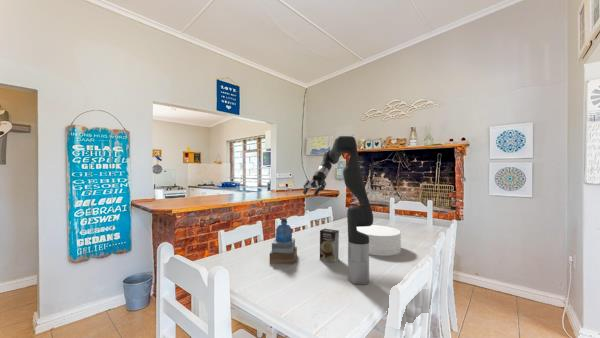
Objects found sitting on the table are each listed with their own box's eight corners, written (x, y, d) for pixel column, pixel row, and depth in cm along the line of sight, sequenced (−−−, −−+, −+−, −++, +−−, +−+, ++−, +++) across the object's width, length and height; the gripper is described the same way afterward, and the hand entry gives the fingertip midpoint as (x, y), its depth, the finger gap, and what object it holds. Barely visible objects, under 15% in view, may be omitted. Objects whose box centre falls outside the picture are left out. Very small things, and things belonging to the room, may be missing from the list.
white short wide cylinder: (368, 239, 179) (368, 223, 179) (408, 248, 159) (408, 230, 159) (345, 248, 159) (345, 229, 159) (387, 259, 139) (387, 238, 139)
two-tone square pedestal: (293, 263, 132) (293, 244, 132) (269, 262, 133) (269, 243, 133) (296, 255, 145) (296, 238, 145) (274, 254, 146) (274, 237, 146)
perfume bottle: (283, 238, 144) (283, 217, 144) (291, 240, 139) (291, 219, 139) (276, 240, 139) (276, 219, 139) (284, 243, 135) (284, 220, 135)
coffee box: (319, 260, 138) (319, 230, 138) (323, 256, 143) (323, 228, 143) (335, 262, 133) (335, 232, 133) (339, 259, 139) (339, 229, 139)
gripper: (309, 170, 162) (297, 189, 153) (327, 170, 152) (316, 190, 144) (314, 178, 166) (303, 197, 157) (332, 179, 156) (321, 199, 148)
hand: (309, 194), depth 150 cm, fingers open, 8 cm apart
